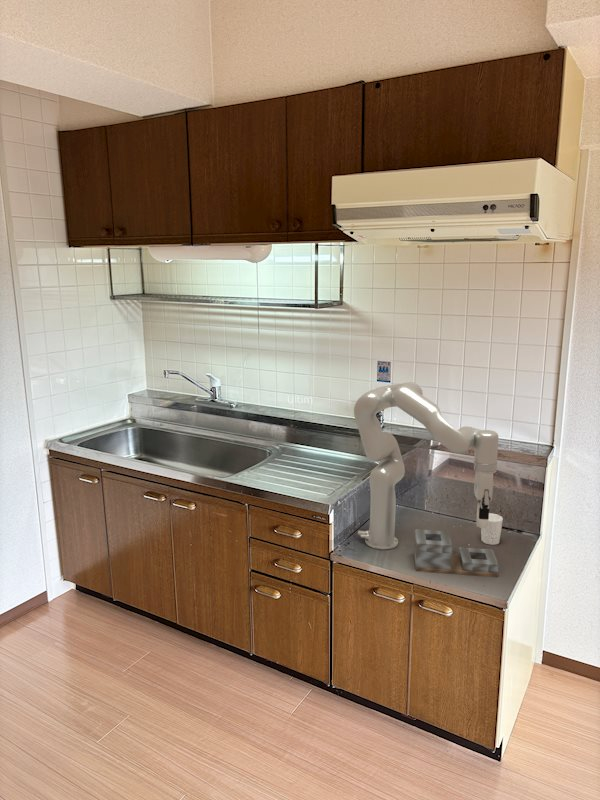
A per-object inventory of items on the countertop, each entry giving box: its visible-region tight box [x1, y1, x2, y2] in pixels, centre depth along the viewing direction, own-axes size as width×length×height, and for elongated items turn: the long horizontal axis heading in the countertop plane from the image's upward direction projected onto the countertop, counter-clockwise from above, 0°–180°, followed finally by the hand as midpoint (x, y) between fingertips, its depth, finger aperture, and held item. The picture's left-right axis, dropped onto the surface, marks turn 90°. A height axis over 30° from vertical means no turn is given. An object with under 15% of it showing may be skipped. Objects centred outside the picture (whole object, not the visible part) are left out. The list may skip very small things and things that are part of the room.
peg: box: [475, 502, 488, 529], centre depth 214 cm, size 4×4×8 cm
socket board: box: [413, 528, 499, 578], centre depth 218 cm, size 28×14×10 cm, turn 82°
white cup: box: [480, 512, 504, 546], centre depth 237 cm, size 8×8×10 cm
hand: (482, 515), depth 214 cm, fingers closed on peg, 4 cm apart
